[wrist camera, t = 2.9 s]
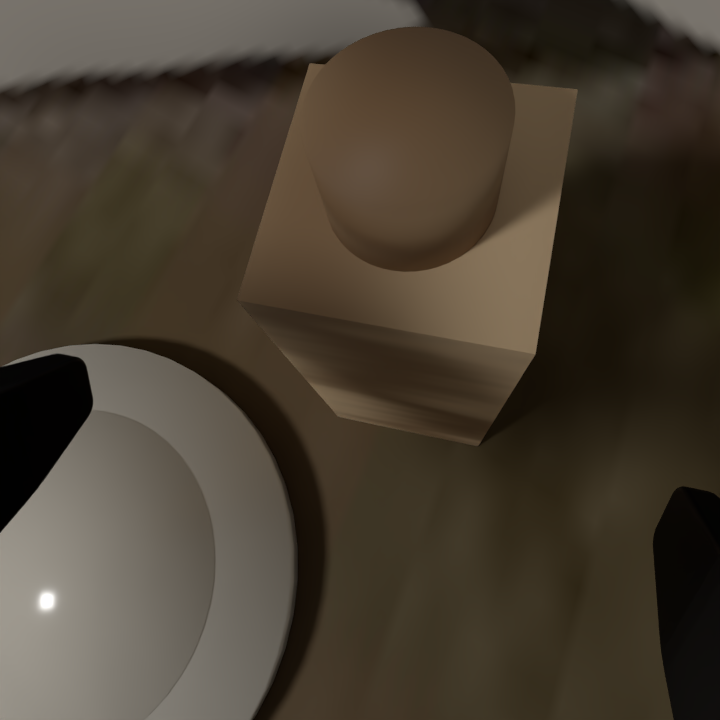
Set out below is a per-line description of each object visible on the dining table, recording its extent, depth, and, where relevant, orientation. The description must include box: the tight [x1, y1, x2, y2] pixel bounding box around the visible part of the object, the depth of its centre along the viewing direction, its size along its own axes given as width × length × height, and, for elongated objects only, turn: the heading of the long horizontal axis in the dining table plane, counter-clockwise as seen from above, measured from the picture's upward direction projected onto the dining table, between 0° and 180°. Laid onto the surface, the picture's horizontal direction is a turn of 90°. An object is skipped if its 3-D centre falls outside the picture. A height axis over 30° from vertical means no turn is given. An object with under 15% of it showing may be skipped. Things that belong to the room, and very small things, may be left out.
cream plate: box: [0, 344, 298, 720], centre depth 19 cm, size 16×16×1 cm
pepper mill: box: [237, 27, 578, 446], centre depth 14 cm, size 5×5×13 cm
